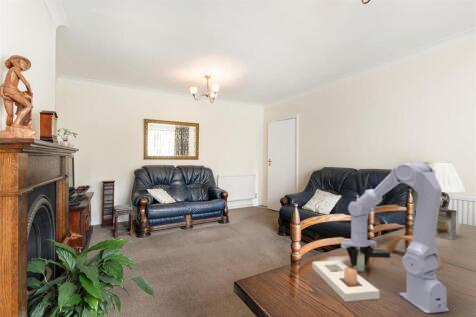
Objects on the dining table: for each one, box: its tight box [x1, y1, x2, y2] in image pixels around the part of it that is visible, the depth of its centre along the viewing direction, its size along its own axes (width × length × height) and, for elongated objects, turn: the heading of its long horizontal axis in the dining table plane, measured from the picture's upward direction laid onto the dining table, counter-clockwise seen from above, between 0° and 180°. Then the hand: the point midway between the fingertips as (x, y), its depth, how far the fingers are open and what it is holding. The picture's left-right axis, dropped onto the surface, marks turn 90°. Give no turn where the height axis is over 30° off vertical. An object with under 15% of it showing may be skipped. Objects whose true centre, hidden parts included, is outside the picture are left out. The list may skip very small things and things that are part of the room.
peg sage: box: [352, 251, 365, 273], centre depth 92 cm, size 4×4×6 cm
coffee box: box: [435, 207, 458, 241], centre depth 132 cm, size 9×6×16 cm
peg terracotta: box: [344, 266, 358, 287], centre depth 78 cm, size 4×4×6 cm
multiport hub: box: [356, 248, 391, 259], centre depth 106 cm, size 4×14×2 cm, turn 88°
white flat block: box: [311, 259, 380, 303], centre depth 83 cm, size 22×12×2 cm, turn 9°
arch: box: [385, 235, 444, 271], centre depth 102 cm, size 6×20×10 cm, turn 24°
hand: (358, 264), depth 92 cm, fingers closed on peg sage, 4 cm apart
